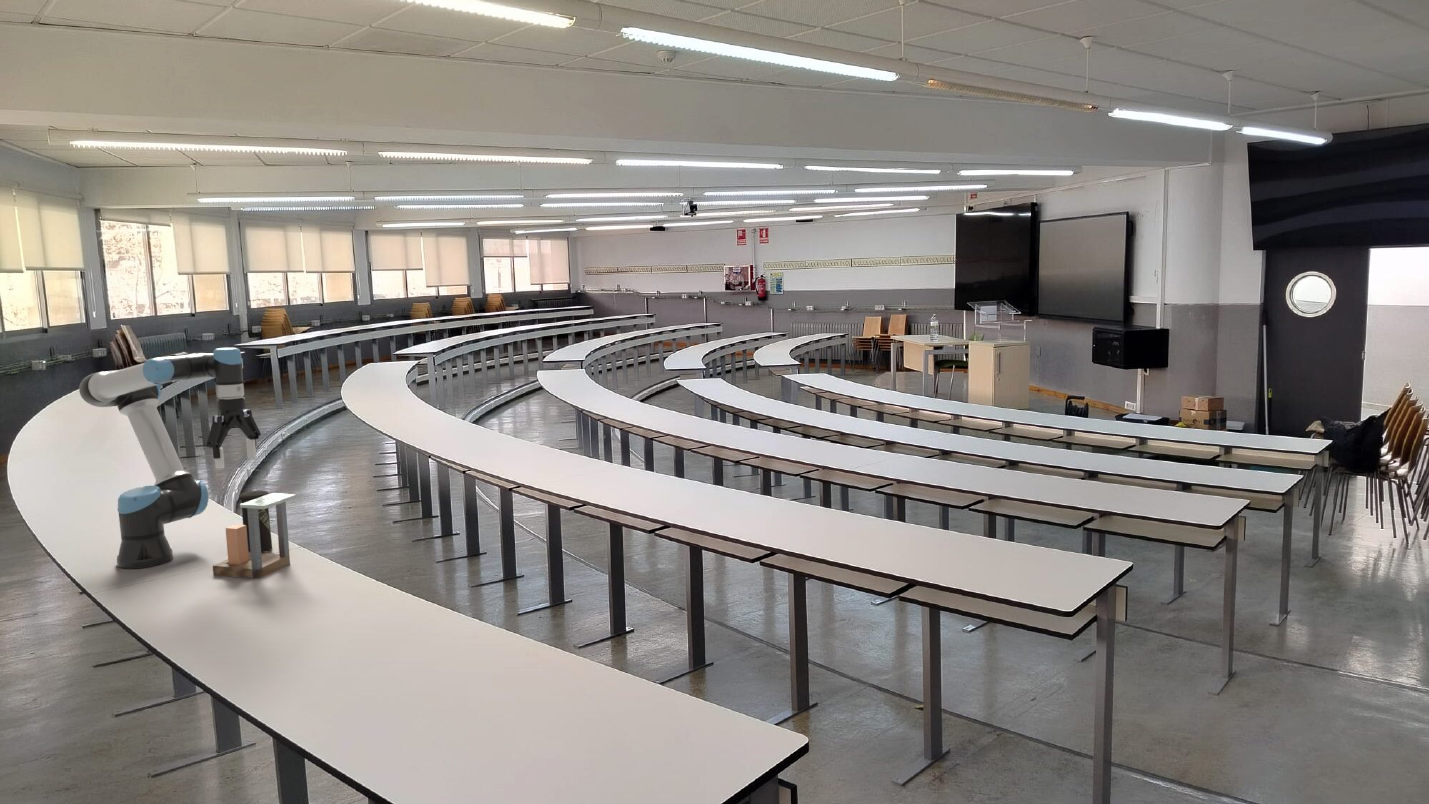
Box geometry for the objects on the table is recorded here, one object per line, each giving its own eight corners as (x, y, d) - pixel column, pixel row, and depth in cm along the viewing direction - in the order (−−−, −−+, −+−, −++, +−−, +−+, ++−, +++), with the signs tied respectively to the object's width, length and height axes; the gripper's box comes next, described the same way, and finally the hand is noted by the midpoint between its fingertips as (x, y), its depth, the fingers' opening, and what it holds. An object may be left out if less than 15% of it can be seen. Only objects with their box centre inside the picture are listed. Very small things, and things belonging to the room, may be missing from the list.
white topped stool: (245, 577, 269) (239, 504, 265) (277, 563, 282) (272, 492, 279) (269, 580, 267) (264, 506, 264) (301, 565, 280) (296, 494, 277)
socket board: (213, 575, 271) (212, 565, 271) (246, 560, 285) (246, 551, 284) (258, 579, 268) (257, 569, 267) (290, 564, 281) (289, 555, 281)
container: (261, 555, 290) (256, 495, 287) (237, 553, 292) (232, 494, 289) (279, 547, 299) (274, 489, 296) (255, 545, 300) (251, 487, 297)
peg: (229, 571, 274) (225, 528, 271) (238, 567, 277) (235, 524, 275) (240, 572, 273) (236, 528, 271) (249, 568, 276) (246, 525, 274)
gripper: (210, 403, 264) (216, 473, 267) (269, 392, 288) (274, 456, 292) (189, 402, 266) (195, 471, 269) (249, 391, 290) (254, 455, 293)
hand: (236, 463), depth 280 cm, fingers open, 13 cm apart
